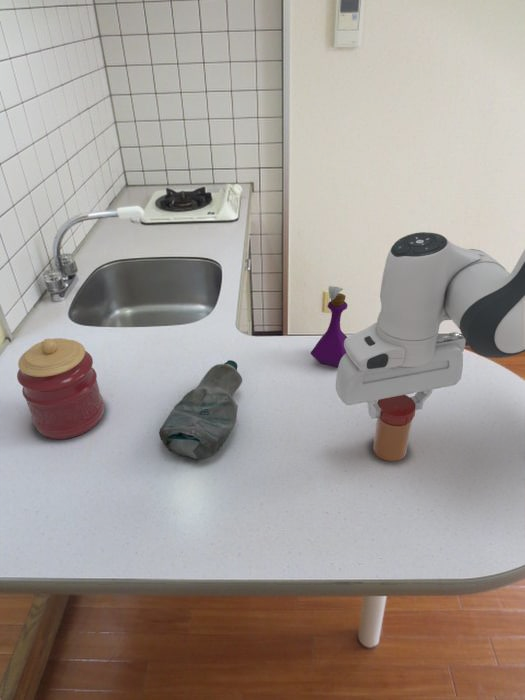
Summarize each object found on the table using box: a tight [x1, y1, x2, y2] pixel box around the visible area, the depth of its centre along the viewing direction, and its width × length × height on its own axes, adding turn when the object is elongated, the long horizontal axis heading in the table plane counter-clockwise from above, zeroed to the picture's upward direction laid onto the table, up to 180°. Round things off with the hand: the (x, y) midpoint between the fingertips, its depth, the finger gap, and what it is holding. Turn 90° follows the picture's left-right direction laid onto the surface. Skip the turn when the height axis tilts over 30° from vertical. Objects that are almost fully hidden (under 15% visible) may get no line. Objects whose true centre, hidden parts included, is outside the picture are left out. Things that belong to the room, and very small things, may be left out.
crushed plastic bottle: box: [158, 359, 243, 460], centre depth 97 cm, size 13×7×25 cm
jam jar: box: [372, 418, 413, 462], centre depth 88 cm, size 6×6×10 cm
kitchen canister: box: [16, 337, 105, 440], centre depth 96 cm, size 13×13×18 cm
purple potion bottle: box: [310, 285, 349, 369], centre depth 109 cm, size 8×8×18 cm
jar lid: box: [377, 394, 416, 425], centre depth 86 cm, size 6×6×2 cm
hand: (394, 411), depth 86 cm, fingers closed on jar lid, 6 cm apart
